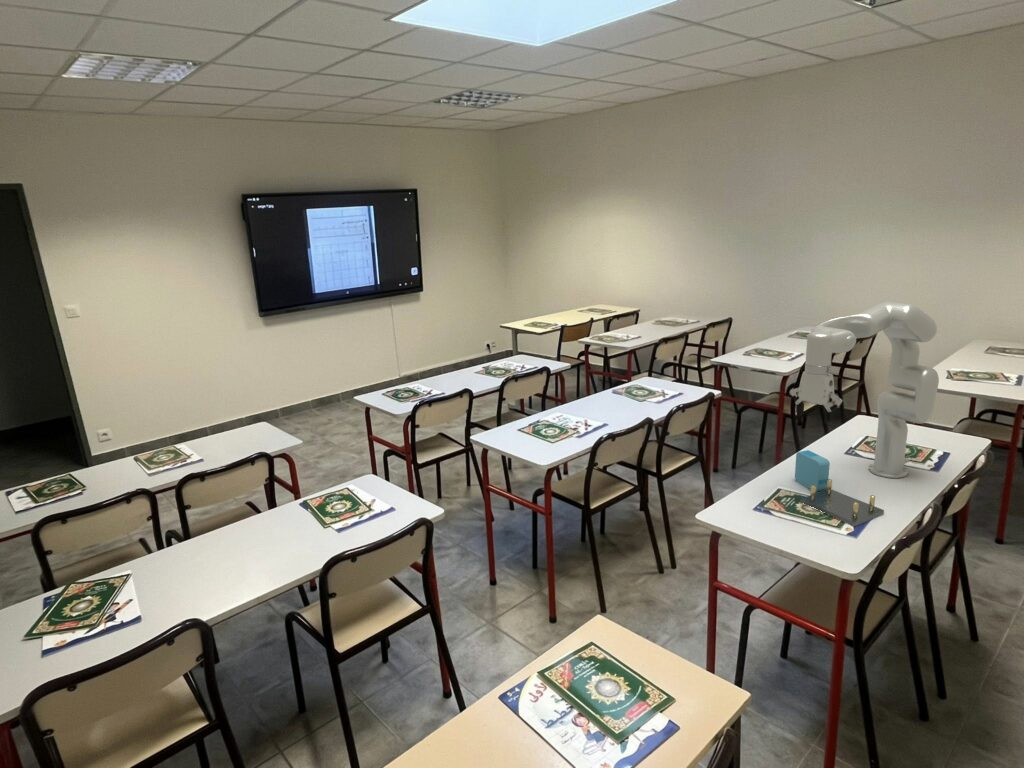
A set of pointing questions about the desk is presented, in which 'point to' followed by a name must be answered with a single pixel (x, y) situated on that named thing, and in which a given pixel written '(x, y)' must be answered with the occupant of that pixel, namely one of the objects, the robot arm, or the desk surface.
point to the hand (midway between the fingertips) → (813, 418)
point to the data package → (812, 470)
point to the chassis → (842, 505)
